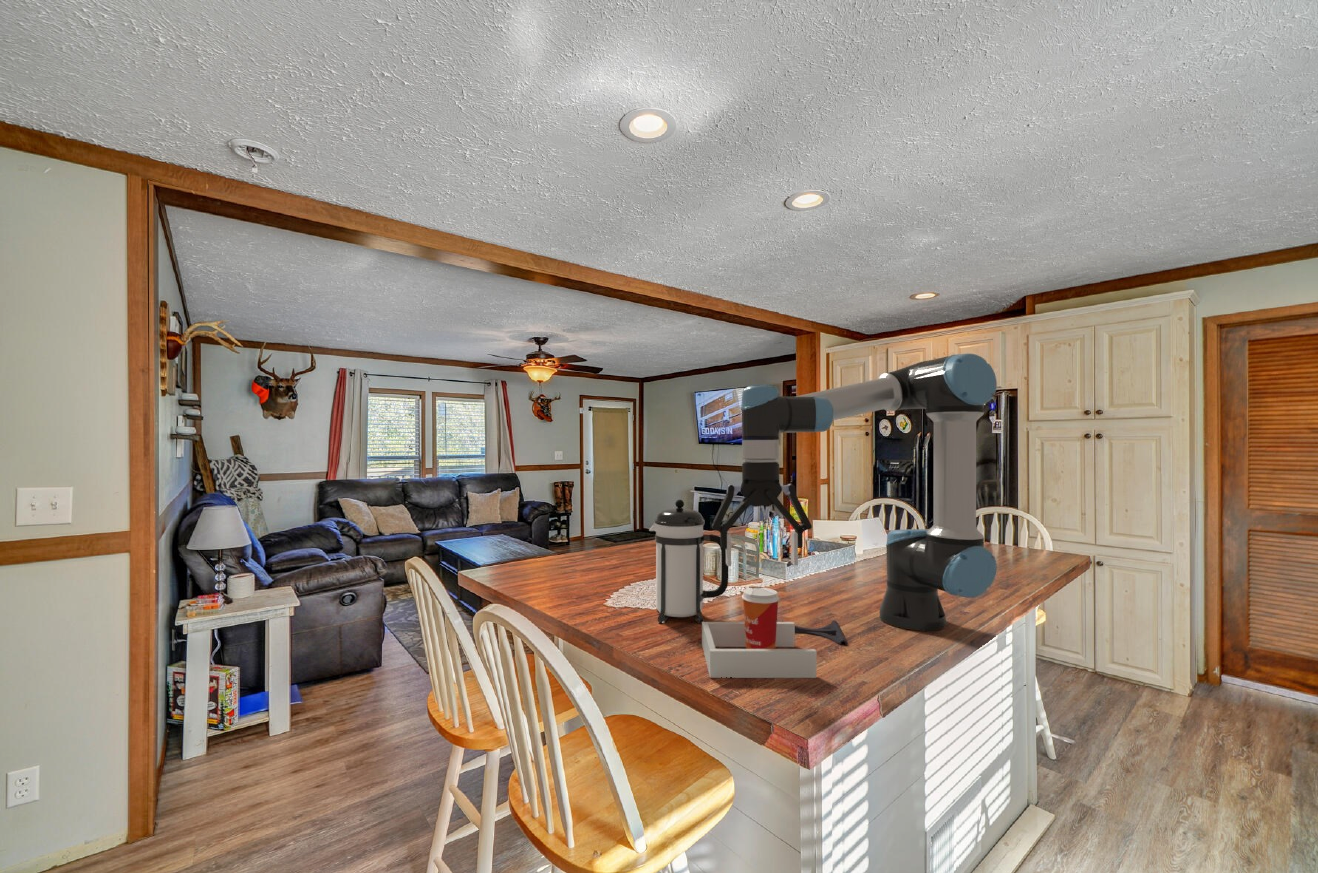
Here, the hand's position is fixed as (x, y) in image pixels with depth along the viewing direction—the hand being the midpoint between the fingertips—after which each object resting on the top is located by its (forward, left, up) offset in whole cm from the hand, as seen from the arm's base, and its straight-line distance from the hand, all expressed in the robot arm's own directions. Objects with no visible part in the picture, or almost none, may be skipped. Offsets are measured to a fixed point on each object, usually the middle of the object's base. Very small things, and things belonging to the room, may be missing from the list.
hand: (761, 564), depth 114 cm
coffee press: (+14, -29, -20) cm, 38 cm away
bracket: (-15, -17, -20) cm, 30 cm away
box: (+1, 0, -19) cm, 20 cm away
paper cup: (0, 0, -20) cm, 20 cm away
